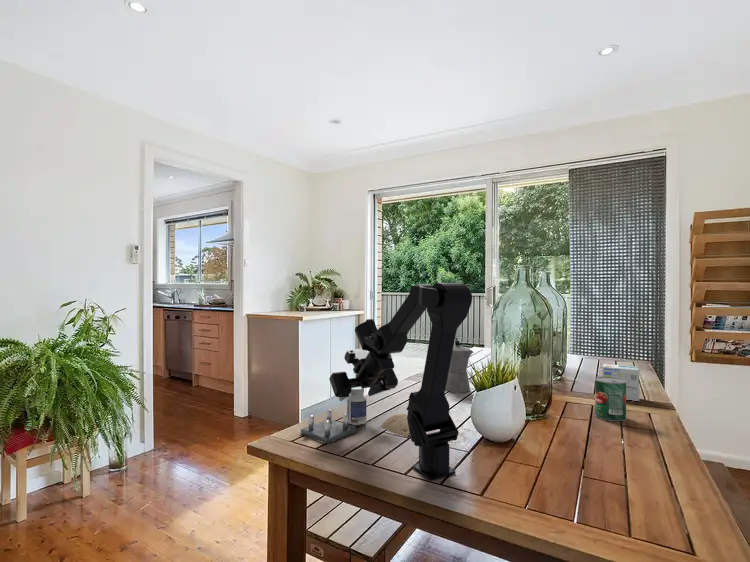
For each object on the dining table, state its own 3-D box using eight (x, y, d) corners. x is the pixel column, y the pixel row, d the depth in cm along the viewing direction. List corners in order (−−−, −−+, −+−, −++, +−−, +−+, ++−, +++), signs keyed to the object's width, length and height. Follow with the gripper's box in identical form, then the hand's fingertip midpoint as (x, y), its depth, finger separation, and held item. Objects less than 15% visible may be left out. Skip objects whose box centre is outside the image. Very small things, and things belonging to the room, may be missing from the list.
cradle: (355, 432, 105) (355, 414, 105) (327, 443, 97) (327, 424, 97) (329, 423, 112) (329, 406, 112) (300, 433, 104) (300, 415, 104)
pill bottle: (370, 422, 113) (370, 387, 113) (356, 427, 109) (356, 391, 109) (357, 417, 116) (356, 384, 116) (343, 422, 112) (343, 387, 113)
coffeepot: (480, 390, 146) (479, 341, 146) (465, 395, 139) (465, 343, 140) (445, 383, 157) (445, 337, 157) (430, 387, 151) (430, 339, 151)
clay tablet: (406, 440, 101) (406, 429, 101) (376, 431, 108) (376, 420, 108) (437, 425, 112) (437, 415, 112) (408, 417, 118) (408, 408, 118)
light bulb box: (639, 398, 137) (639, 366, 137) (639, 402, 131) (639, 369, 131) (603, 393, 142) (603, 362, 143) (602, 397, 137) (602, 366, 137)
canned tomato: (588, 414, 119) (588, 377, 119) (609, 412, 121) (608, 375, 122) (611, 423, 111) (611, 383, 112) (633, 420, 114) (632, 381, 114)
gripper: (392, 337, 114) (373, 369, 123) (332, 342, 105) (316, 376, 114) (408, 370, 107) (386, 401, 117) (345, 379, 98) (327, 412, 107)
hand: (354, 397), depth 114 cm, fingers open, 9 cm apart
